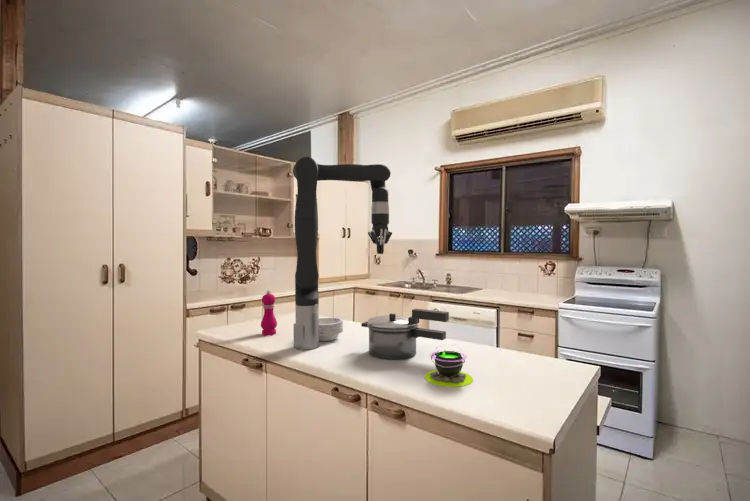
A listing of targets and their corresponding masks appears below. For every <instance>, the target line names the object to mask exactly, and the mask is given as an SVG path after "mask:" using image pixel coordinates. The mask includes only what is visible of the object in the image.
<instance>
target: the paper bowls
mask: <svg viewBox="0 0 750 501" xmlns="http://www.w3.org/2000/svg"><path fill="white" fill-rule="evenodd" d="M343 322H344V321H343V319H341V318H339V317H319V342H328V341H329V342H330V341H333V340H337V338H338V337H339V335H340V334H341V333H342V332H343V331H344V328H343V327H344V326H343V325H344V323H343Z"/></svg>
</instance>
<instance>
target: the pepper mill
mask: <svg viewBox="0 0 750 501" xmlns="http://www.w3.org/2000/svg"><path fill="white" fill-rule="evenodd" d="M261 302H262V308H263V316H262V319H261V322H260V327H261V329H262V330H261V335H262V334H263V335H262V336H265V335H270V336H274V335H273V334H275V335H276V334H277V329H276V328H277V326H278V321H277V319H276V317H275V314H274V308H275V302H276V296H275V295H274V294H272V293H271V290H267V291H266V294H264V295H262V297H261Z"/></svg>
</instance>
